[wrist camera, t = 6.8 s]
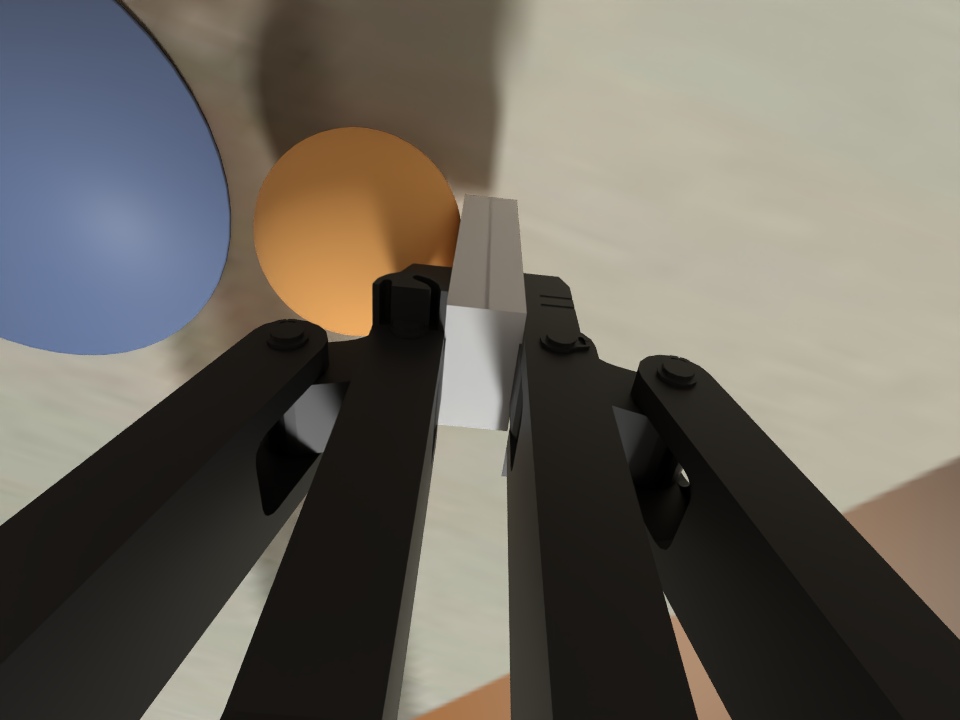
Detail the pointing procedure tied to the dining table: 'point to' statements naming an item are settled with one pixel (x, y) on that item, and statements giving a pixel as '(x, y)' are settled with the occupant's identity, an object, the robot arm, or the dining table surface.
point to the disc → (101, 183)
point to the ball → (350, 222)
